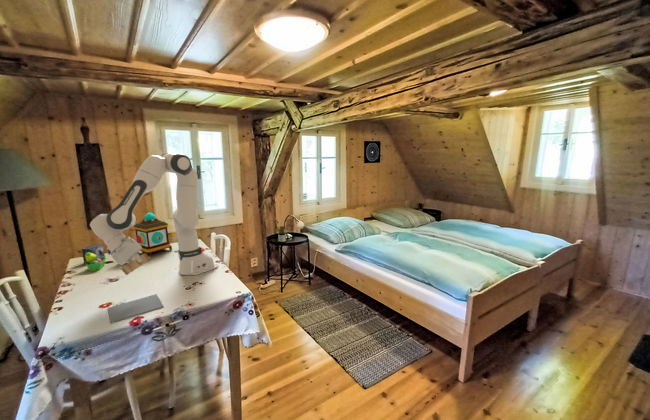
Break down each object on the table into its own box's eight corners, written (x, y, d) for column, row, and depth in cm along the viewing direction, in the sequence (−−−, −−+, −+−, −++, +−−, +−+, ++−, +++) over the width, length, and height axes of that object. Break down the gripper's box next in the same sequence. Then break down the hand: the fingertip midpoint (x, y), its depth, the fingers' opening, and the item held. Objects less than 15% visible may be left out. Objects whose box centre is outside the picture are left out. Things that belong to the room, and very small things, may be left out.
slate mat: (156, 295, 147) (156, 294, 147) (163, 307, 135) (163, 306, 135) (108, 308, 135) (108, 307, 135) (111, 323, 123) (111, 322, 123)
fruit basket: (101, 270, 182) (98, 253, 180) (84, 272, 179) (81, 255, 177) (107, 264, 192) (104, 248, 190) (91, 266, 189) (88, 250, 187)
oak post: (120, 269, 142) (141, 255, 152) (126, 275, 143) (147, 261, 153) (124, 266, 140) (145, 252, 150) (129, 272, 141) (150, 258, 151)
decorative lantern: (147, 258, 202) (141, 216, 197) (133, 253, 213) (127, 213, 207) (175, 250, 219) (170, 211, 214) (160, 246, 229) (155, 209, 224)
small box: (91, 264, 193) (88, 249, 192) (83, 263, 195) (80, 248, 193) (106, 258, 204) (103, 244, 202) (98, 258, 205) (96, 244, 203)
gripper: (132, 231, 142) (152, 253, 144) (116, 247, 152) (135, 267, 155) (121, 238, 137) (141, 260, 139) (105, 254, 147) (124, 274, 149)
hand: (138, 264), depth 147 cm, fingers closed on oak post, 4 cm apart
